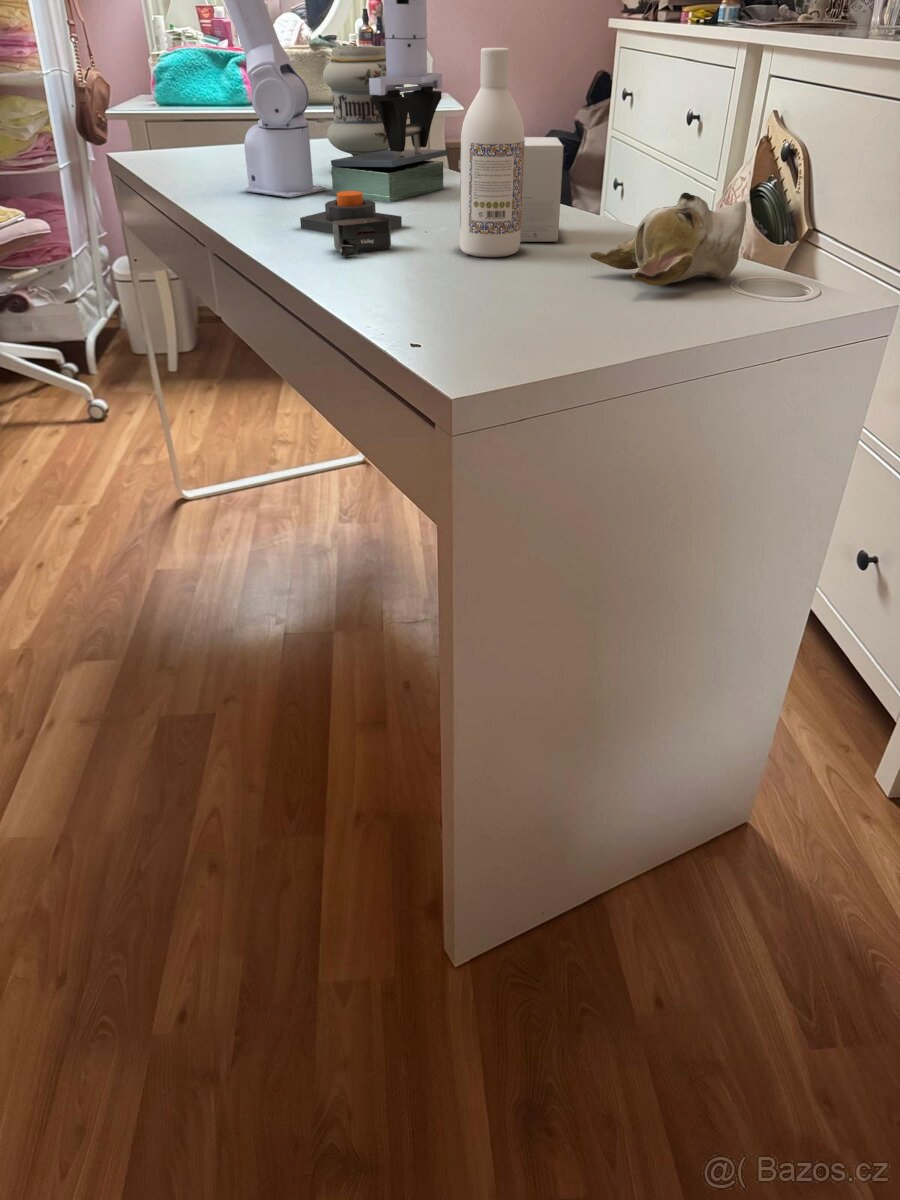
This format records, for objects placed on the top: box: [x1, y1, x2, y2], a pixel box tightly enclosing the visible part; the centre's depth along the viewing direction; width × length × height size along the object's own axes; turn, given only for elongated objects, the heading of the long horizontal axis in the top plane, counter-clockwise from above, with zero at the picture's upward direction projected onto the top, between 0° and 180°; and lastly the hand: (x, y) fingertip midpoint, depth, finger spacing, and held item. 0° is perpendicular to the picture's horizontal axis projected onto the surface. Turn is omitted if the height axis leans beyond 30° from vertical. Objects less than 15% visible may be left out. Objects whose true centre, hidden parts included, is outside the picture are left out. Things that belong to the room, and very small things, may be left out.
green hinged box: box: [330, 159, 444, 203], centre depth 134 cm, size 11×14×4 cm
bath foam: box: [459, 47, 526, 258], centre depth 98 cm, size 7×7×20 cm
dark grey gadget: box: [333, 217, 392, 258], centre depth 102 cm, size 5×7×3 cm, turn 118°
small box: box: [520, 136, 564, 243], centre depth 107 cm, size 8×6×10 cm
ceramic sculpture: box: [589, 192, 747, 287], centre depth 90 cm, size 11×9×15 cm
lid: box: [330, 122, 449, 167], centre depth 131 cm, size 11×14×5 cm
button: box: [336, 191, 364, 206], centre depth 112 cm, size 3×3×2 cm
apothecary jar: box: [322, 45, 390, 156], centre depth 146 cm, size 12×12×18 cm
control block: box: [299, 198, 403, 235], centre depth 113 cm, size 10×8×3 cm
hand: (408, 148), depth 130 cm, fingers closed on lid, 5 cm apart
